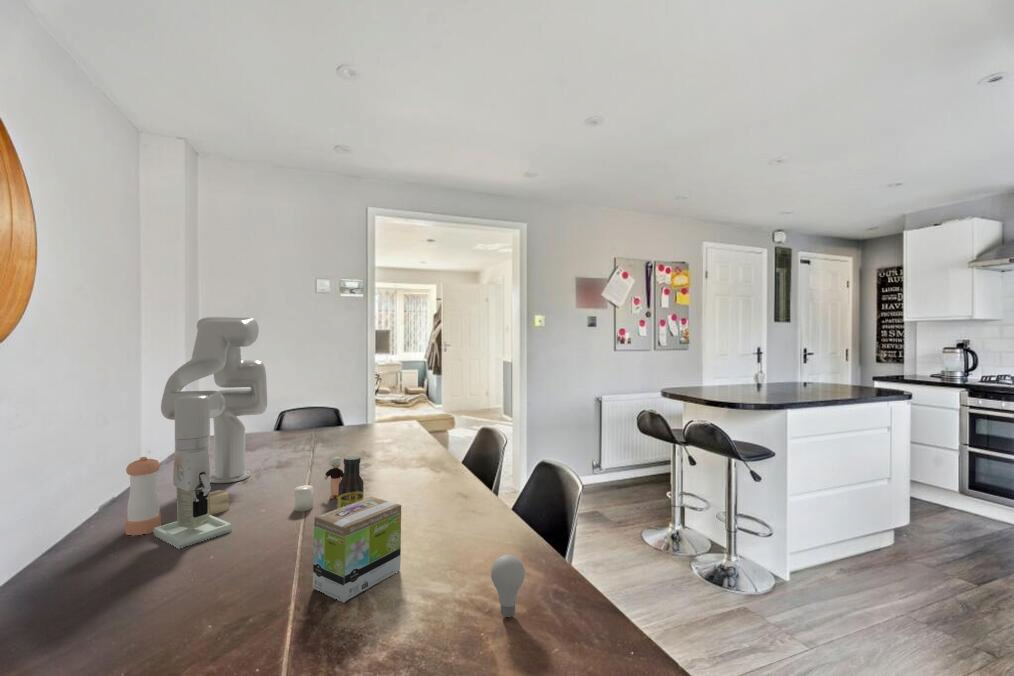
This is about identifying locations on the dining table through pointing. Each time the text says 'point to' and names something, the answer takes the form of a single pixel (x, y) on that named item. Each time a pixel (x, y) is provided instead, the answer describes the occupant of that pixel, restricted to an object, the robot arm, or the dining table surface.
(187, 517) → the skincare box
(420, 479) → the dining table surface
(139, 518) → the salt shaker
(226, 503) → the beech block
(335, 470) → the grandmother figurine
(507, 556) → the lightbulb
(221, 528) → the tray
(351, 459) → the sauce bottle
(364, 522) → the tea box
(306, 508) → the cream cylinder
